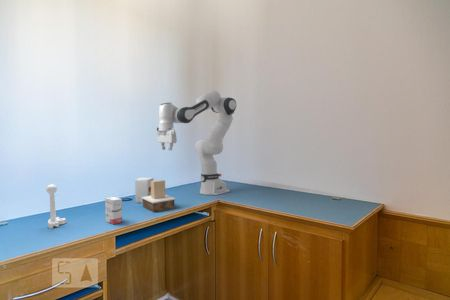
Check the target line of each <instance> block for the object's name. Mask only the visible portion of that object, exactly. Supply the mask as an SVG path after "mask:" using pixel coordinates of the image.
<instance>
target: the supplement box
mask: <svg viewBox="0 0 450 300" xmlns="http://www.w3.org/2000/svg"><path fill="white" fill-rule="evenodd" d="M151 181H155V180H154V177H138V178H135V179H134V191H135V192H134V196H135V197H134V199H135V203H137V204H138V203H140V204H143V199H142V197H145V196H151Z"/></svg>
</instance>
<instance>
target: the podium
mask: <svg viewBox="0 0 450 300" xmlns="http://www.w3.org/2000/svg"><path fill="white" fill-rule="evenodd" d="M142 199H143V203H142V208H145V209H147V211H151V212H153V213H158V212H163V211H167V210H173V209H175V200H176V197H174V196H171V195H167V194H165V198H159V199H153V198H151V196H145V197H142Z"/></svg>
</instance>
